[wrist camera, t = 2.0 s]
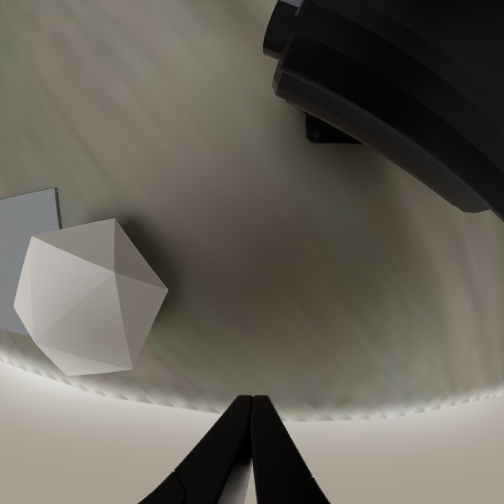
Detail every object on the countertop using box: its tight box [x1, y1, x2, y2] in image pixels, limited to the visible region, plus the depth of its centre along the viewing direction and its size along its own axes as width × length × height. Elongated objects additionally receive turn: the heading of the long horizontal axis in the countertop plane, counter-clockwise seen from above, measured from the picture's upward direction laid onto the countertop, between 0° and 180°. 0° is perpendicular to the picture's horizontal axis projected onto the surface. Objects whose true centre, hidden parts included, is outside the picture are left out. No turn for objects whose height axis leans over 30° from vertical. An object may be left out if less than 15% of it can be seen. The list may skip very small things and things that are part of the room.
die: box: [14, 218, 168, 376], centre depth 15 cm, size 8×9×10 cm
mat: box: [0, 188, 62, 336], centre depth 21 cm, size 14×13×1 cm
